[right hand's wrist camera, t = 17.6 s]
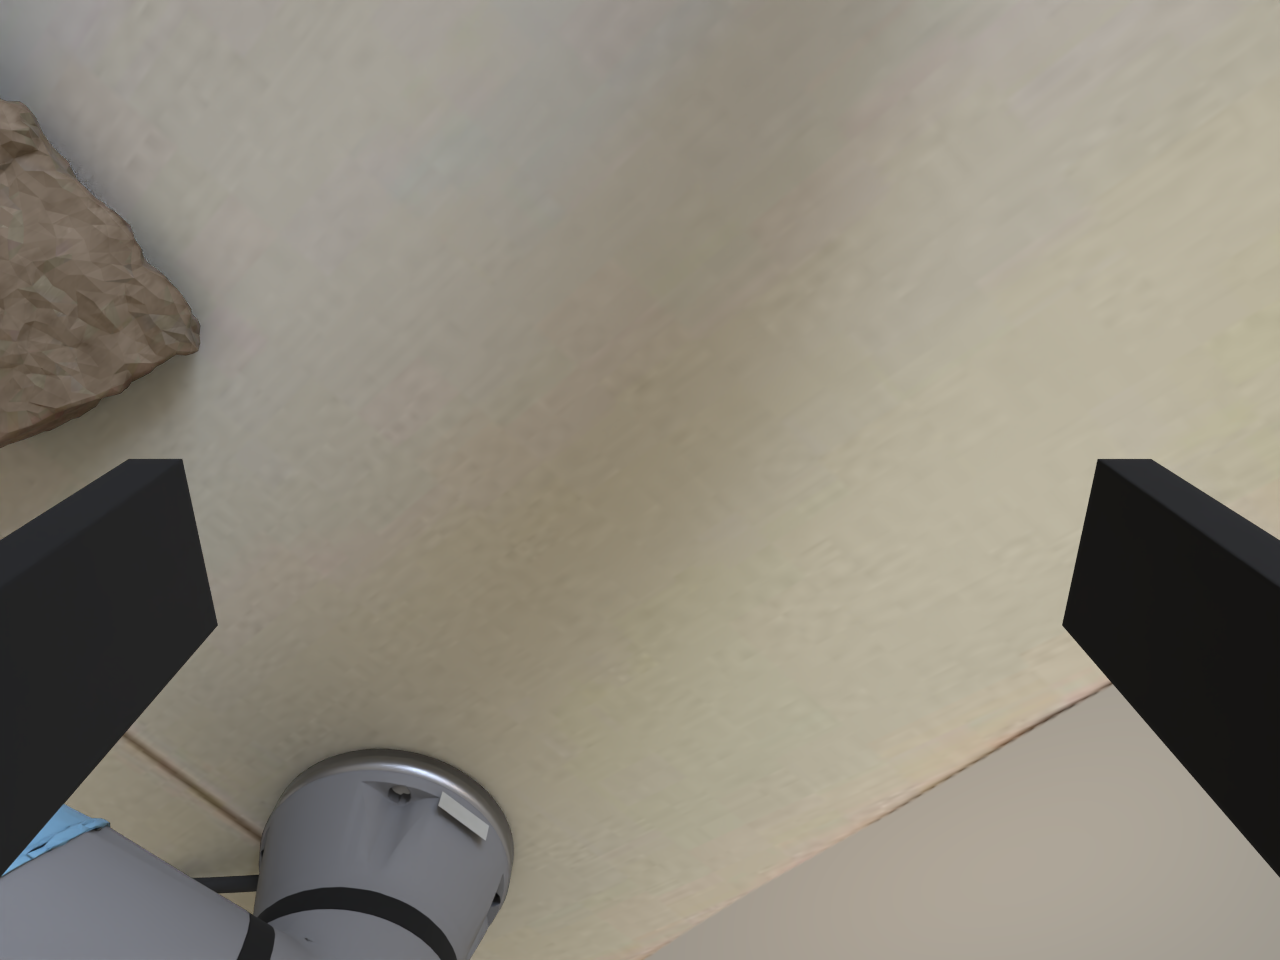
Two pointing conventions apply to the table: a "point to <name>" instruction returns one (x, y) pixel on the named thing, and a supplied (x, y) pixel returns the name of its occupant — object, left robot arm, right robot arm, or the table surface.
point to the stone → (71, 291)
